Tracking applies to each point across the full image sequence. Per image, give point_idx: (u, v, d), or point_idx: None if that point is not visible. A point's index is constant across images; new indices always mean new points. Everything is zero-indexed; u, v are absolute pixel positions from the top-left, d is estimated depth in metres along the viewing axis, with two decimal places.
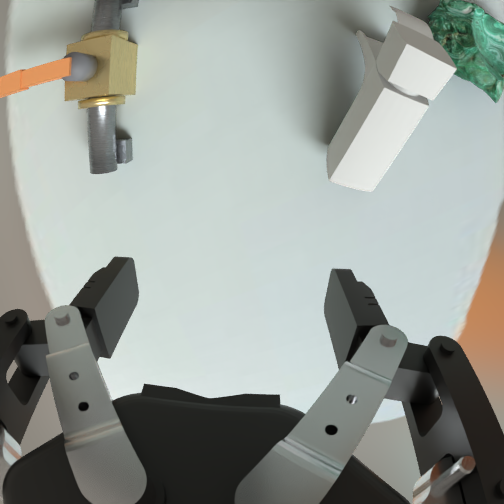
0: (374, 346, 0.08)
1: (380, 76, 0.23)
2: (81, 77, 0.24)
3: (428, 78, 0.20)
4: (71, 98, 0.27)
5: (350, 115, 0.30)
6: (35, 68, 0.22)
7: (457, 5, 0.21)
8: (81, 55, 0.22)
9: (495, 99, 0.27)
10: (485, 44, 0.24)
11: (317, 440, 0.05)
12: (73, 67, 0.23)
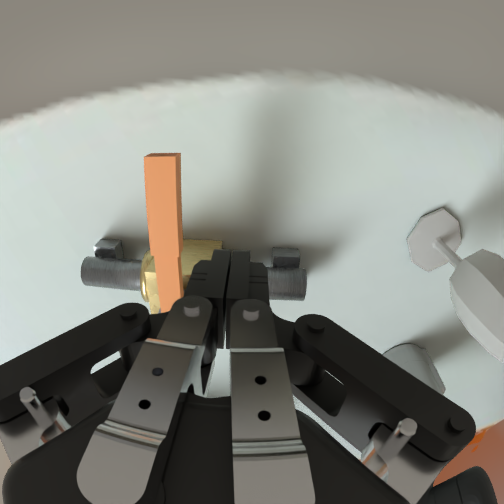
0: (243, 324, 0.08)
1: None
2: None
3: None
4: (147, 280, 0.30)
5: None
6: (176, 279, 0.26)
7: None
8: None
9: None
10: None
11: (260, 431, 0.05)
12: None
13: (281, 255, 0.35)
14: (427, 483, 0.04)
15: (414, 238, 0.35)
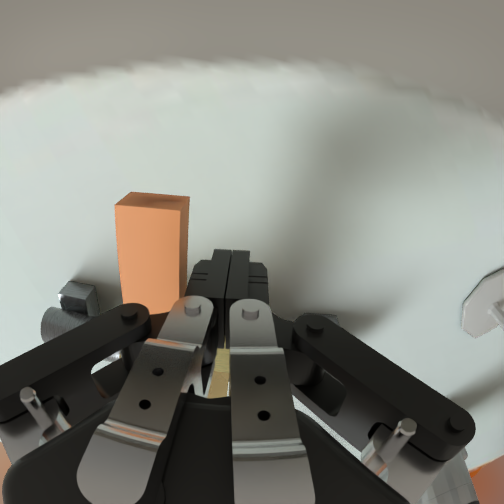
0: (242, 324, 0.08)
1: None
2: None
3: None
4: None
5: None
6: None
7: None
8: None
9: None
10: None
11: (260, 431, 0.05)
12: None
13: None
14: (427, 483, 0.04)
15: (472, 304, 0.25)
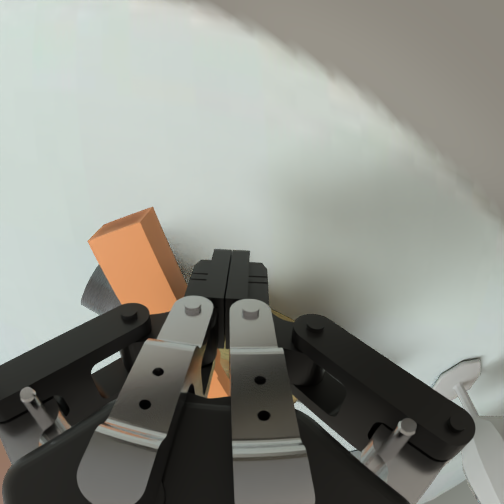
0: (242, 324, 0.08)
1: None
2: None
3: None
4: None
5: None
6: None
7: None
8: None
9: None
10: None
11: (260, 431, 0.05)
12: None
13: None
14: (428, 483, 0.04)
15: (447, 378, 0.31)
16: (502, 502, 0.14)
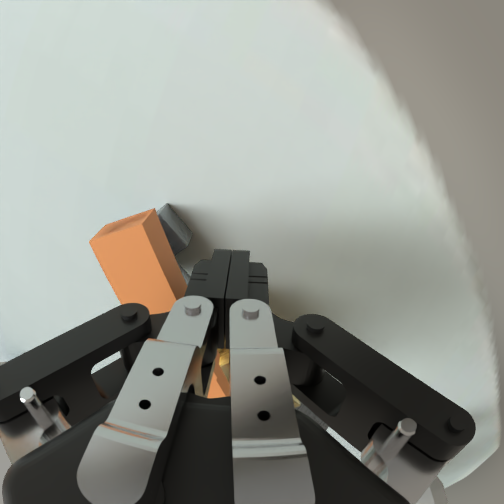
0: (242, 324, 0.08)
1: None
2: None
3: None
4: None
5: None
6: None
7: None
8: None
9: None
10: None
11: (260, 431, 0.05)
12: None
13: None
14: (428, 483, 0.04)
15: None
16: None
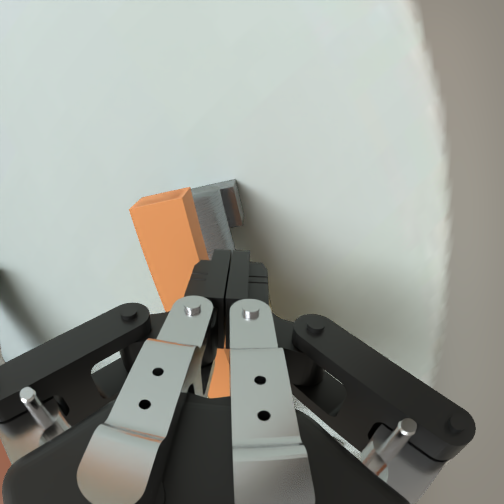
0: (242, 324, 0.08)
1: None
2: None
3: None
4: None
5: None
6: (228, 371, 0.17)
7: None
8: None
9: None
10: None
11: (260, 431, 0.05)
12: None
13: None
14: (428, 483, 0.04)
15: None
16: None
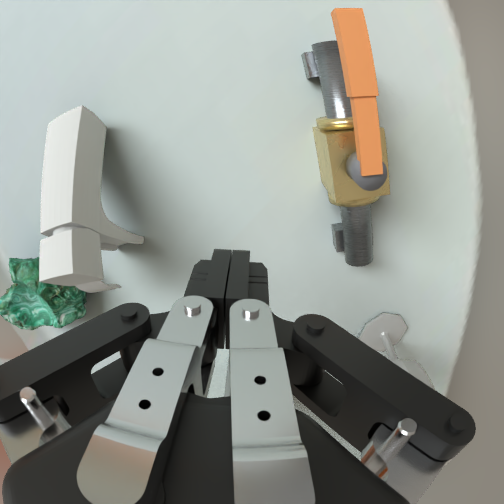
0: (242, 324, 0.08)
1: (83, 226, 0.28)
2: (355, 182, 0.27)
3: (49, 255, 0.26)
4: None
5: (94, 171, 0.31)
6: (376, 120, 0.23)
7: (70, 316, 0.41)
8: (381, 185, 0.26)
9: (10, 261, 0.37)
10: (39, 297, 0.41)
11: (260, 431, 0.05)
12: (369, 177, 0.26)
13: None
14: (427, 483, 0.04)
15: (386, 318, 0.47)
16: None
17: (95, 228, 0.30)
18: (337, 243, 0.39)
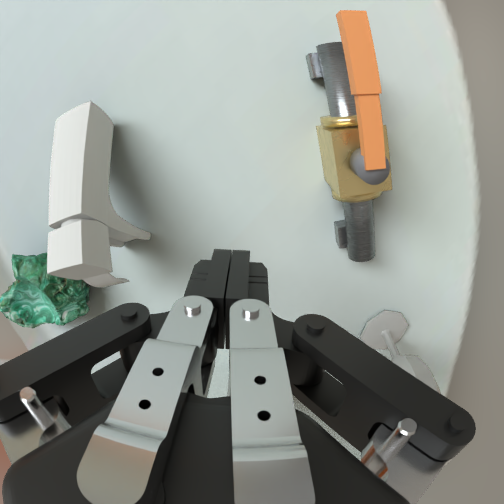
0: (242, 324, 0.08)
1: (92, 218, 0.29)
2: (359, 176, 0.28)
3: (57, 247, 0.26)
4: None
5: (103, 165, 0.31)
6: (379, 117, 0.24)
7: (72, 314, 0.41)
8: (384, 179, 0.27)
9: (13, 257, 0.37)
10: (42, 295, 0.41)
11: (260, 431, 0.05)
12: (373, 172, 0.27)
13: None
14: (427, 483, 0.04)
15: (387, 315, 0.47)
16: None
17: (104, 221, 0.31)
18: (340, 239, 0.40)
